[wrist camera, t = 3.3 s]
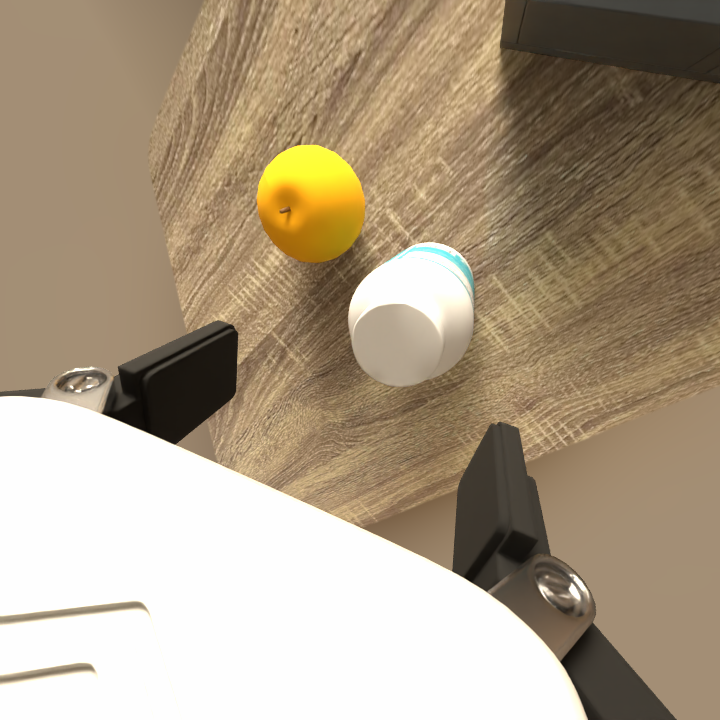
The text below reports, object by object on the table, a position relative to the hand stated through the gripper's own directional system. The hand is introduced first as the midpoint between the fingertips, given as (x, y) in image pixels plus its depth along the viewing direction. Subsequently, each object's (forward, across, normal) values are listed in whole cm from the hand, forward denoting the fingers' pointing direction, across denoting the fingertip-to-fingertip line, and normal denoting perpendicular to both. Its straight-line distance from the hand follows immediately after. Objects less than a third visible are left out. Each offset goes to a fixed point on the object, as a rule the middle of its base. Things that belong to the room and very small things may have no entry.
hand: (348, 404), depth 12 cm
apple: (+20, +10, -4) cm, 22 cm away
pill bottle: (+19, 0, 0) cm, 19 cm away
